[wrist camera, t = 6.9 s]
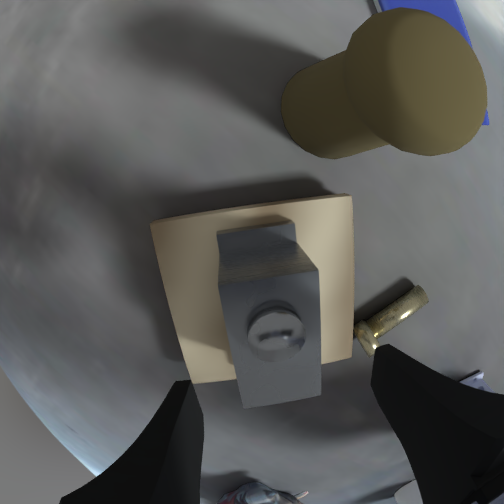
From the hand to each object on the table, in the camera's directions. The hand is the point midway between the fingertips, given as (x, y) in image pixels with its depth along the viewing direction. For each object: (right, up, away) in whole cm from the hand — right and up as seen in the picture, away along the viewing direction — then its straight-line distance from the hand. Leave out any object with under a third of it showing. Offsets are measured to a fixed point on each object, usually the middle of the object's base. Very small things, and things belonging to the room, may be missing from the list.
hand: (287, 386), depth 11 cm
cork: (+3, +14, +6) cm, 15 cm away
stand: (-1, +3, +9) cm, 9 cm away
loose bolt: (+9, +1, +10) cm, 14 cm away
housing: (-1, +2, +7) cm, 7 cm away
